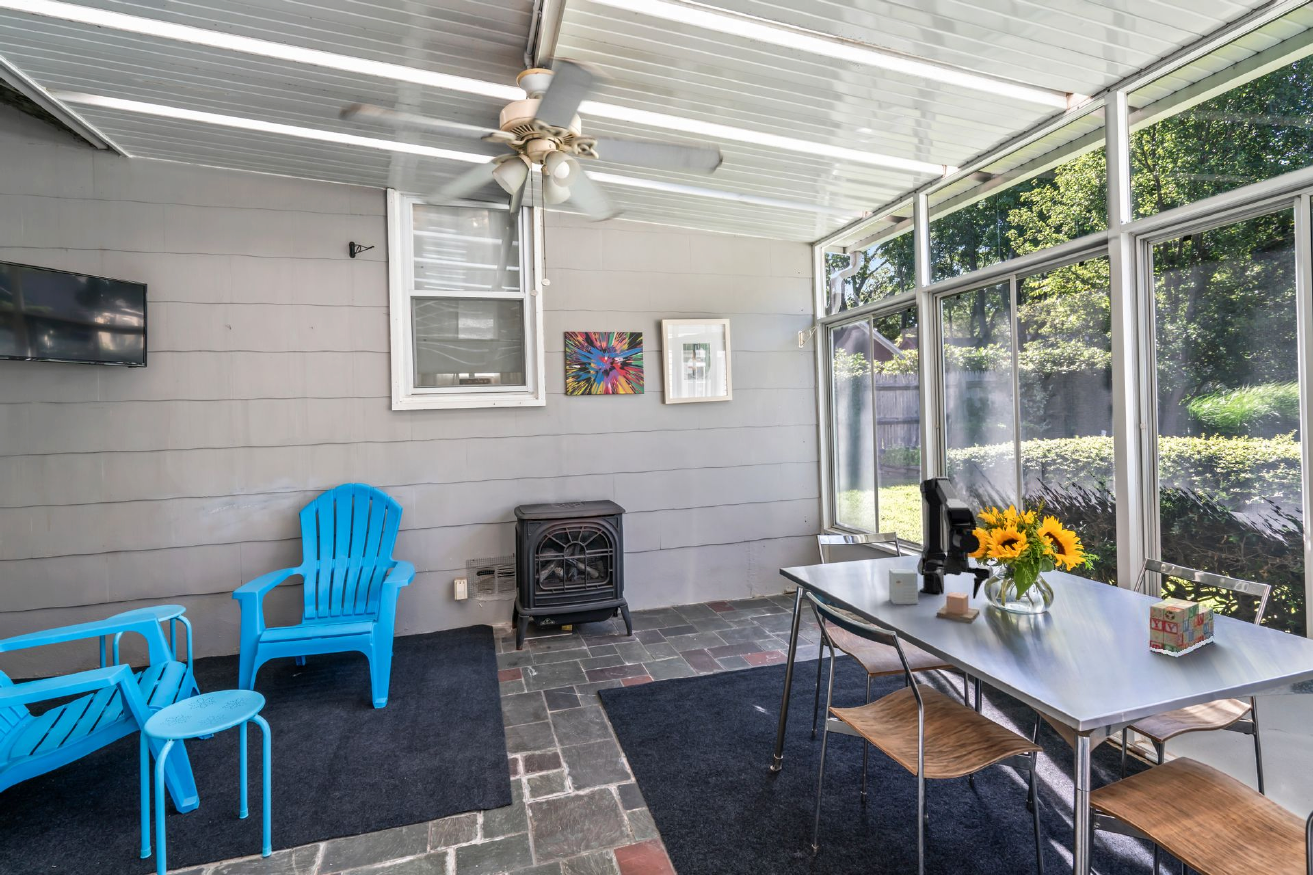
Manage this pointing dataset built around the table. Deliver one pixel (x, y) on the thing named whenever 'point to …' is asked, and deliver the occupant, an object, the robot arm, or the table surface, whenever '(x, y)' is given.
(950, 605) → the terracotta cube
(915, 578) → the small box
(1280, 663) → the table surface
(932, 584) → the robot arm
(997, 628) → the table surface
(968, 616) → the walnut base
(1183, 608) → the stack of blocks
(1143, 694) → the table surface
